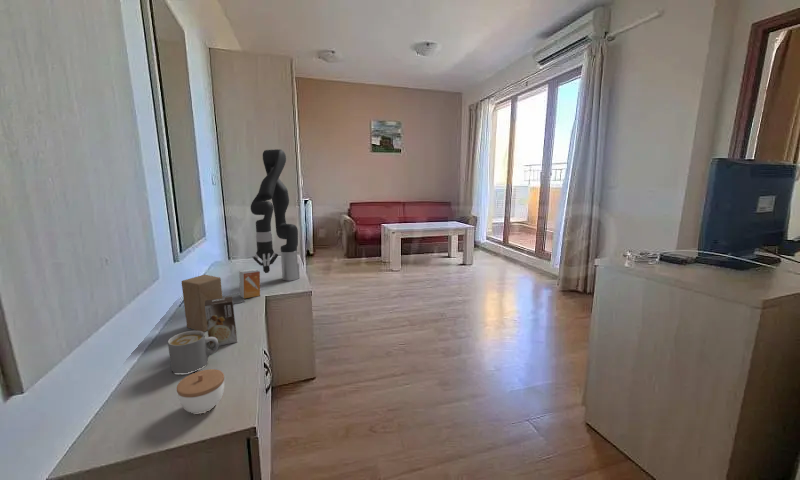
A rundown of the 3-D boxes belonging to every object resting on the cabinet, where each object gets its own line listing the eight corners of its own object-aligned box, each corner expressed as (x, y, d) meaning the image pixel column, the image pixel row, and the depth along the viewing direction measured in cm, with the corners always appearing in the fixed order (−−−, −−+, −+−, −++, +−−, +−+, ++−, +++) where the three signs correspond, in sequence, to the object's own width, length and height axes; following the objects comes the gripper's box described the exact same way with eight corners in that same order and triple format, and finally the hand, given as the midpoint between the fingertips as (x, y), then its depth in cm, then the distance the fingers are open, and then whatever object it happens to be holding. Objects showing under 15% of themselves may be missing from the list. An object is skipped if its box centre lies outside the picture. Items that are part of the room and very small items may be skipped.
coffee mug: (168, 378, 100) (164, 348, 98) (175, 361, 109) (171, 333, 107) (218, 368, 105) (215, 339, 103) (220, 353, 114) (218, 326, 112)
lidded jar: (233, 393, 93) (230, 363, 91) (213, 421, 83) (210, 387, 81) (195, 393, 93) (191, 363, 91) (170, 421, 82) (165, 388, 81)
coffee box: (236, 335, 127) (233, 295, 124) (237, 342, 122) (233, 301, 119) (209, 340, 123) (205, 299, 120) (208, 348, 117) (204, 305, 114)
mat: (238, 293, 171) (238, 293, 171) (245, 302, 161) (245, 301, 160) (198, 301, 161) (198, 300, 160) (202, 310, 150) (202, 309, 150)
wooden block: (225, 323, 138) (221, 277, 134) (202, 333, 129) (197, 284, 125) (209, 318, 142) (204, 274, 138) (186, 328, 133) (180, 280, 129)
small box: (244, 299, 163) (243, 273, 161) (239, 295, 168) (238, 270, 166) (260, 295, 169) (260, 271, 167) (255, 292, 173) (255, 268, 171)
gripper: (275, 237, 175) (277, 269, 179) (248, 240, 167) (251, 273, 171) (279, 239, 170) (281, 272, 173) (252, 242, 162) (255, 276, 165)
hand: (266, 272), depth 172 cm, fingers closed
